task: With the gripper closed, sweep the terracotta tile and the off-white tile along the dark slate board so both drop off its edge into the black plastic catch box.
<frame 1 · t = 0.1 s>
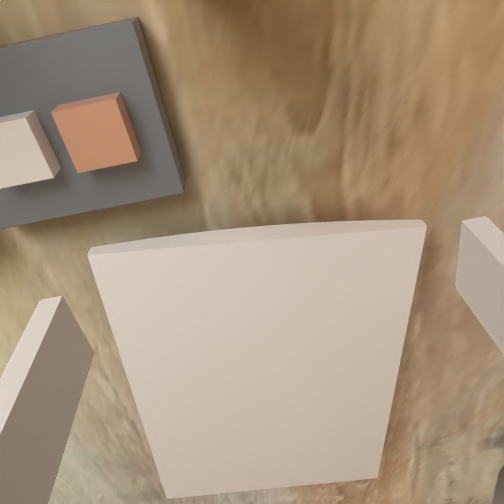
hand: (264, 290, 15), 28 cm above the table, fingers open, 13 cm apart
board: (263, 362, 58), on the table
tile terracotta: (101, 129, 36), point 3 cm above the table, touching slate board
slate board: (64, 126, 39), on the table
tile white: (19, 146, 36), point 3 cm above the table, touching slate board
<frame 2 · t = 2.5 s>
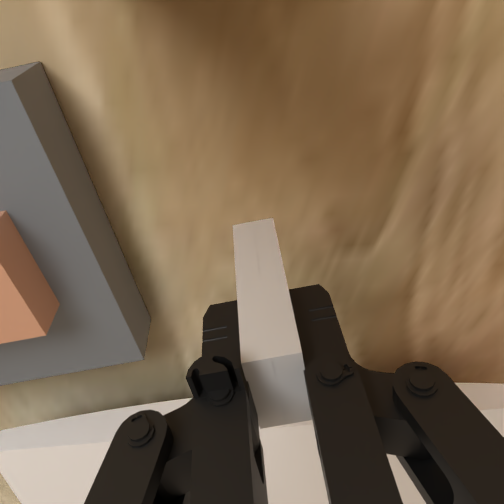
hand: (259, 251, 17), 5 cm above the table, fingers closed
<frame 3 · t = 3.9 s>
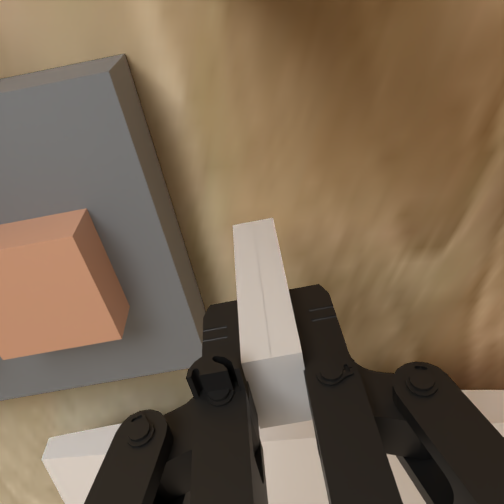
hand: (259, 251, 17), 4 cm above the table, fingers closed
tile terracotta: (51, 271, 18), point 3 cm above the table, touching slate board
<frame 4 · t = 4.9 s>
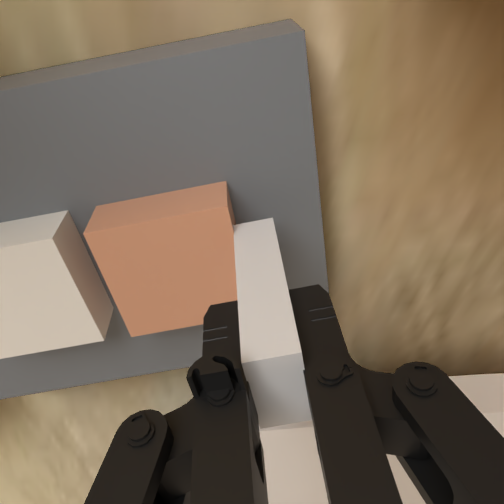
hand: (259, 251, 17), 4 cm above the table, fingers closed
tile terracotta: (178, 247, 18), point 3 cm above the table, touching gripper
slate board: (117, 223, 21), on the table
tile white: (33, 273, 18), point 3 cm above the table, touching slate board
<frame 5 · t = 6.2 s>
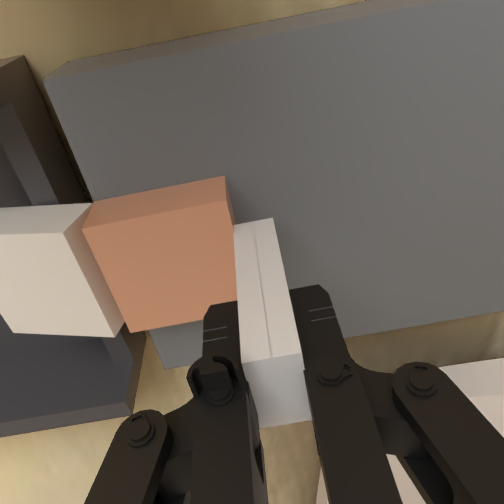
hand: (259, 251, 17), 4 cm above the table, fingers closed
tile terracotta: (177, 243, 18), point 3 cm above the table, touching gripper, tile white
slate board: (320, 184, 20), on the table
tile white: (63, 257, 18), point 3 cm above the table, tilted 17°, touching catch box, tile terracotta
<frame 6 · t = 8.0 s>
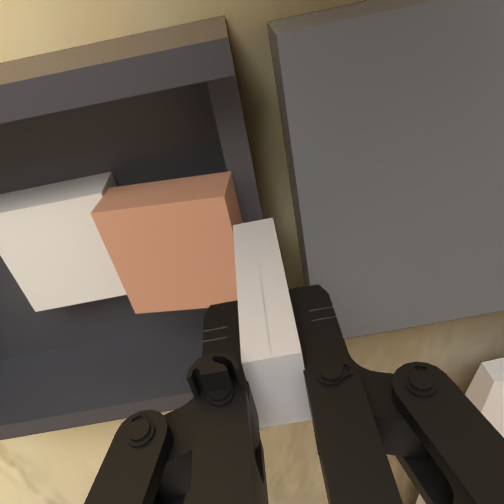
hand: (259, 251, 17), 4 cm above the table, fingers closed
catch box: (80, 231, 21), on the table
tile terracotta: (185, 233, 19), point 2 cm above the table, tilted 9°, touching catch box, gripper, tile white
slate board: (488, 152, 20), on the table
tile white: (77, 232, 20), resting on catch box, touching tile terracotta
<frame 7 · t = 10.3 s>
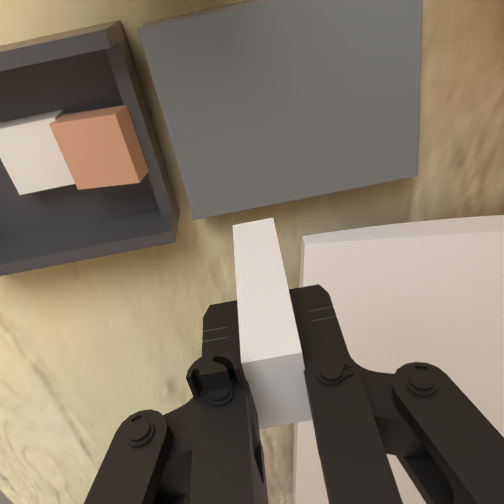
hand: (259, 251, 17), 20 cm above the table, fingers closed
catch box: (47, 149, 34), on the table
board: (424, 372, 53), on the table
tile terracotta: (107, 143, 33), point 2 cm above the table, tilted 12°, touching catch box, tile white
slate board: (287, 99, 34), on the table
tile white: (45, 148, 34), resting on catch box, touching tile terracotta
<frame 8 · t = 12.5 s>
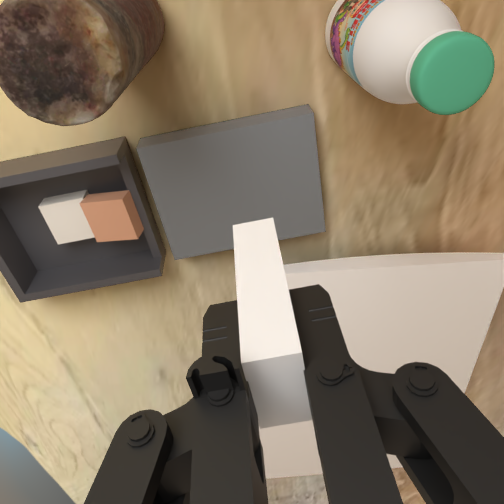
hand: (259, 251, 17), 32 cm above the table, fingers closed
catch box: (75, 212, 51), on the table
board: (354, 363, 70), on the table
tile terracotta: (116, 212, 49), point 2 cm above the table, tilted 12°, touching catch box, tile white
slate board: (236, 181, 50), on the table
tile white: (74, 213, 51), resting on catch box, touching tile terracotta
candle: (123, 19, 41), on the table
milk bottle: (362, 28, 42), on the table
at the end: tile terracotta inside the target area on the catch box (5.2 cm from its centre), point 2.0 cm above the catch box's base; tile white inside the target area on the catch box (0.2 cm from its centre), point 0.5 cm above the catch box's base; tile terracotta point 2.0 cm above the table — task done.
